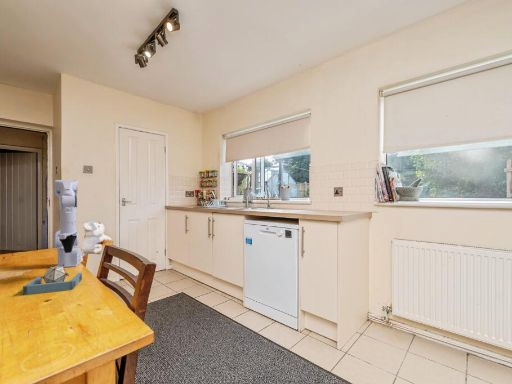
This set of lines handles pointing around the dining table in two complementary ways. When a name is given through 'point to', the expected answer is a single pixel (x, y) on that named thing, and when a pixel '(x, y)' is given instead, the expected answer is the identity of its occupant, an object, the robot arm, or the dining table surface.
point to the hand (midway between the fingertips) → (68, 252)
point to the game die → (55, 274)
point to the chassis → (50, 285)
